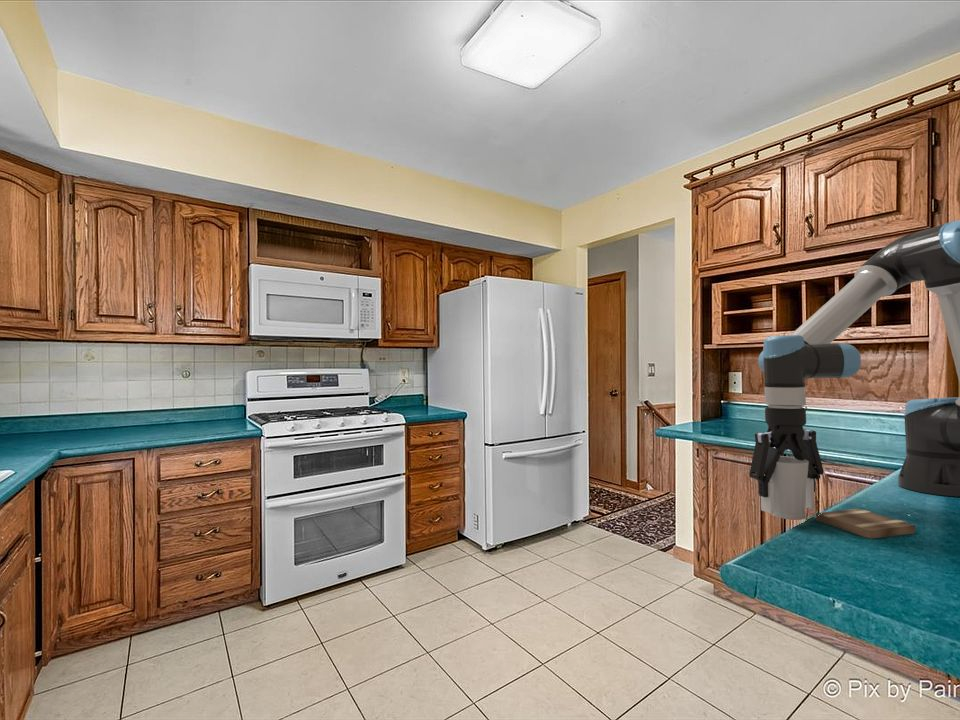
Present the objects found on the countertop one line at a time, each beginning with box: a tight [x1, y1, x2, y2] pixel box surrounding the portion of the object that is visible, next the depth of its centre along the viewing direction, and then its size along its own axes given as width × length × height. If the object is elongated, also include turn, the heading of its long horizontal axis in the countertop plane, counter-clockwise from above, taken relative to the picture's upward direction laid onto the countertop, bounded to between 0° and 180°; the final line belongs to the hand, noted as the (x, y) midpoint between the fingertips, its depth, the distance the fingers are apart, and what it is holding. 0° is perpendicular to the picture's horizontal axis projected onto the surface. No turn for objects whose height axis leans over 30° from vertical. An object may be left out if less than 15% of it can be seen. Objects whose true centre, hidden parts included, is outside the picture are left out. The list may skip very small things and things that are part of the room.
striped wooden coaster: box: [815, 508, 916, 540], centre depth 96 cm, size 11×11×2 cm
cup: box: [769, 455, 809, 521], centre depth 104 cm, size 8×8×12 cm
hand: (787, 509), depth 104 cm, fingers open, 10 cm apart
